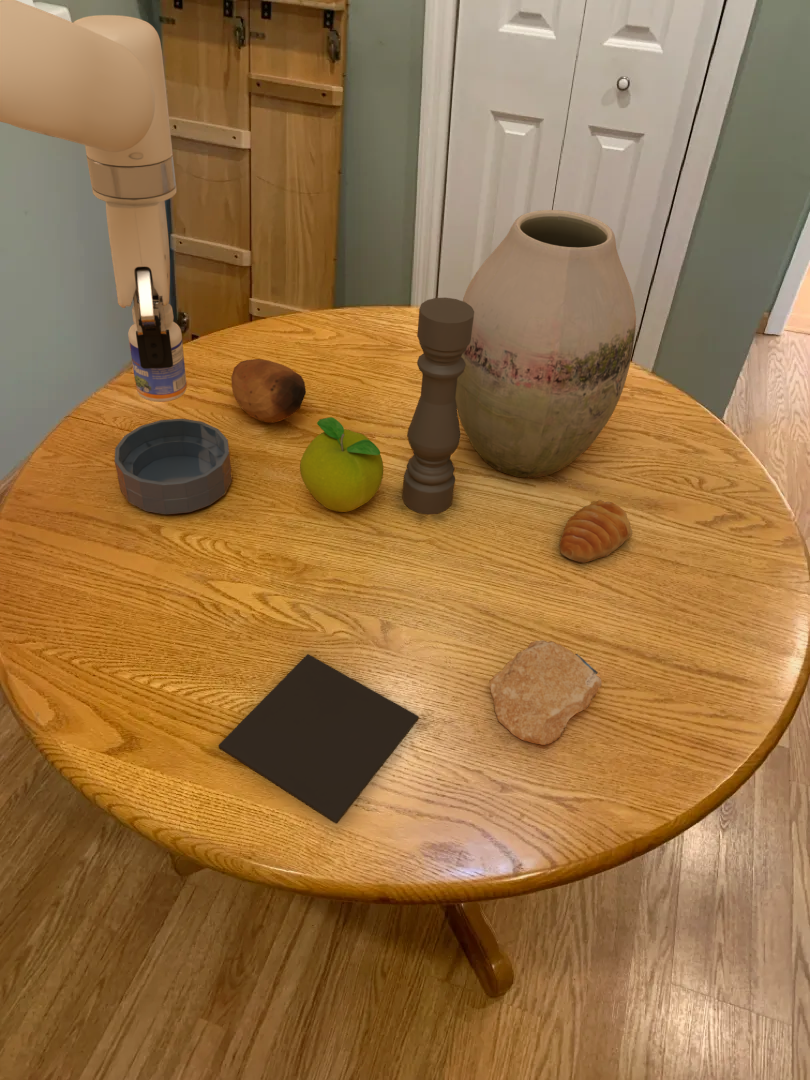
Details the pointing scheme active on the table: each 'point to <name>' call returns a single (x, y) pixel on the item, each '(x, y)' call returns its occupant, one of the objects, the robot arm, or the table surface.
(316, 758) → the mat
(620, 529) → the pastry
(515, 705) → the stone
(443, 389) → the candle holder
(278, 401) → the potato
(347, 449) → the fruit
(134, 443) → the bowl
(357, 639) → the table surface
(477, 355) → the vase
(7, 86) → the robot arm
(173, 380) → the pill bottle
